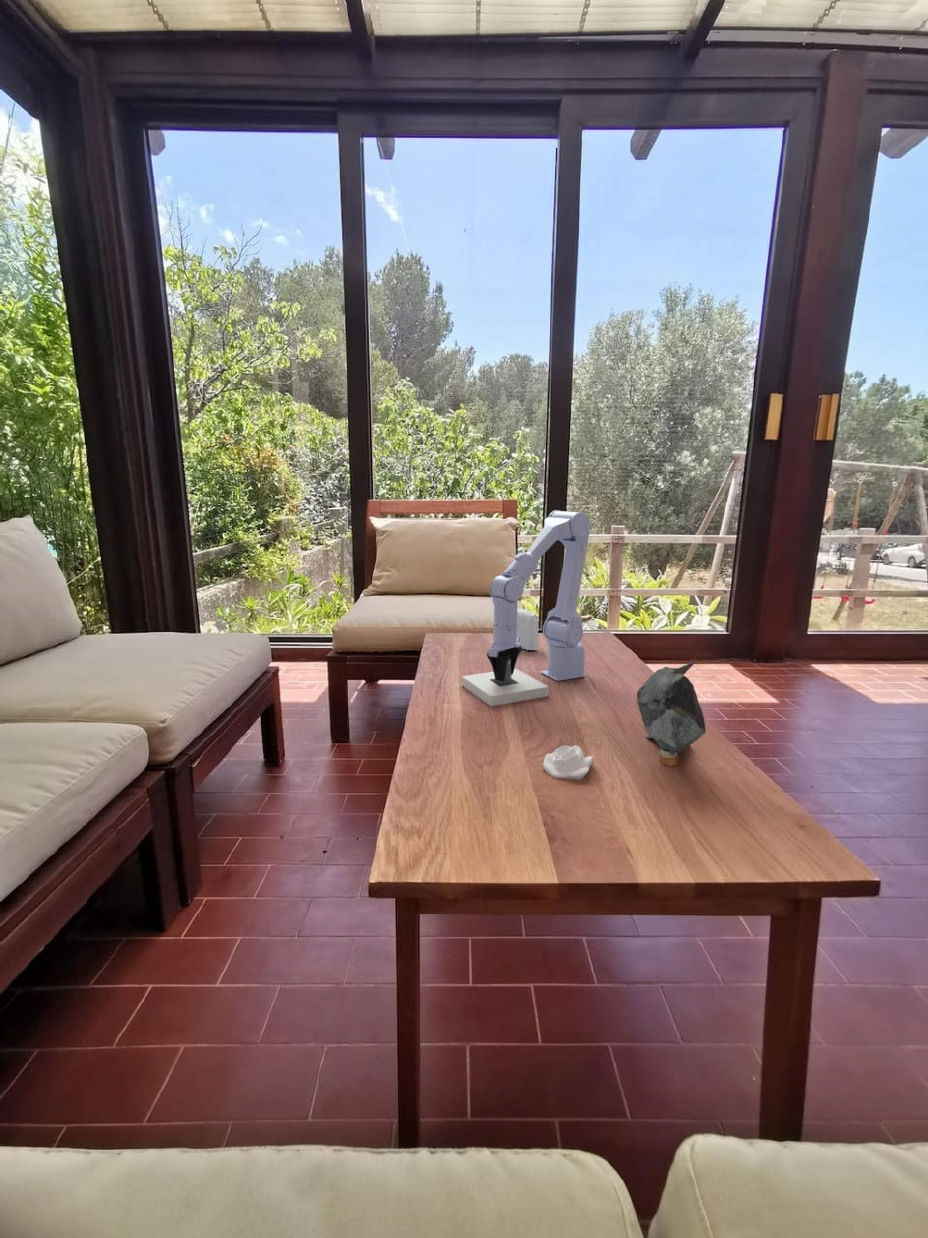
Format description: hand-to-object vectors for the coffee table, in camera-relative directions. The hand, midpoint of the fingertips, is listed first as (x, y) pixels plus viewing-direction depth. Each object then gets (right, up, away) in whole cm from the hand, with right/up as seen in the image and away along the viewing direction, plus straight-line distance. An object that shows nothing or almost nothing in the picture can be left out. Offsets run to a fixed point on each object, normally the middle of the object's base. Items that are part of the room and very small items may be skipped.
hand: (504, 677), depth 149 cm
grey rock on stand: (+29, -12, -34) cm, 47 cm away
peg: (0, -3, +1) cm, 3 cm away
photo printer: (+9, +5, +40) cm, 41 cm away
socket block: (0, -4, +1) cm, 4 cm away
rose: (+9, -13, -39) cm, 42 cm away
